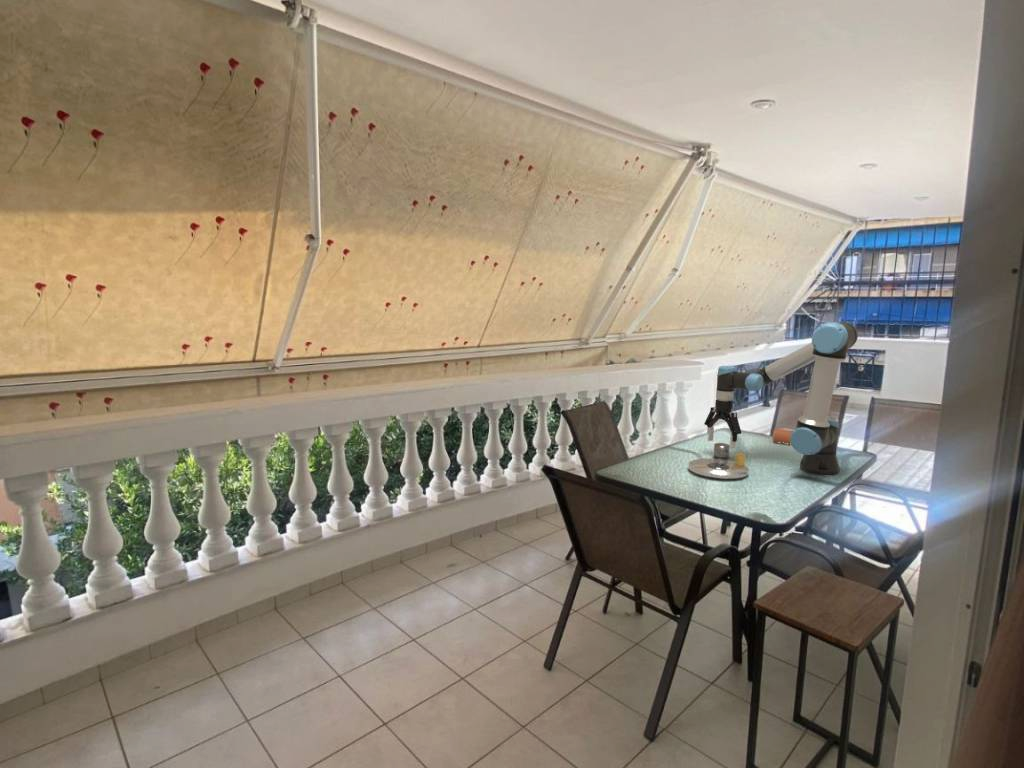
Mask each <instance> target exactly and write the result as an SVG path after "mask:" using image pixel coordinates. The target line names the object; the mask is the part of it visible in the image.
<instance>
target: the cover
mask: <svg viewBox="0 0 1024 768" xmlns="http://www.w3.org/2000/svg"><path fill="white" fill-rule="evenodd" d="M712 458H713V459H724V460H730V459H731V458H730V443H724V442H716V443H714V445H713V456H712ZM730 461H731V460H730Z"/></svg>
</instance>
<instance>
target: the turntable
mask: <svg viewBox="0 0 1024 768" xmlns="http://www.w3.org/2000/svg"><path fill="white" fill-rule="evenodd" d="M688 469H689V471H691V472H693V473H694V474H696V475H700V476H702V475H703V476H702V477H705V476H707V477H706V478H709V477H712V478H711V479H715V478H721V479H720V480H733V479H741V478H745V477H747V476H748V475H749V468H748V466H746V454H745V453H743V452H735V453H734V460H724V459H713V457H712V458H708V457H706V458H697V459H693V460H691V461H689V462H688Z"/></svg>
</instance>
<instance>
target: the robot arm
mask: <svg viewBox="0 0 1024 768" xmlns="http://www.w3.org/2000/svg"><path fill="white" fill-rule="evenodd" d="M858 335H859V333H858V331H857V328H856V327H855V326H854V325H853V324H851V323H850V322H847V321H837V322H835V321H834V322H832V321H830V322H825V323H823V324H821V325H819V326H818V327H816V329H814V331H813V334H812V336H811V342H809V343H808V344H805V345H804V346H802V347H800V348H798V349H796V350H794V351H792V352H791V353H789V354H786V355H785V356H783V357H781V358H779V359H777V360H775V361H774V362H771V363H769V364H768V365H766V366H764V367H762V368H760V369H758V370H755V371H750V372H742V371H740V372H739V371H737V370H736V368H737V367H735V366H732V365H720V366H719V367H718V369H717V375H716V377H717V378H716V379H717V380H716V390H715V391H716V392H715V402H714V404H715V405H714V406H711V407H710V410H709V412H708V414H707V417H706V419H705V421H704V425H705V426H706V428H707V430H706V431H707V442H712V441H714V431H715V424H716V423H717V422H718V420H723V421H724V422H726V424H727V426H728V428H729V430H730V432H731V433H730V434H729V435H730V437H729V438H730V439H729V445H730V447H729V450H730V449H731V450H732V449H735V448H736V443H737V441H738V435H741V434H742V430H741V426H740V422H739V419H738V412H737V411H736V412H735V411H734V412H732V409H733V407H734V401H733V400H734V393H735V389H739V390H745V391H749V392H759V391H761V389H763V387H767V386H769V385H771V384H772V383H773V382H775V381H777V380H780V379H781V378H783V377H785V376H787V375H789V374H791V373H793V372H795V371H798V370H799V369H801V368H804V367H805V366H807V365H809V364H811V363H813V362H814V364H813V365H814V366H813V369H812V375H811V378H810V382H809V387H808V392H807V396H806V402H805V403H804V404H805V405H804V410H803V414H802V415H801V416H800V417H798V418H797V422H796V427H795V429H793V430H792V431H793V432H792V433H791V436H790V443H791V445H790V446H791V447H792V448H793V449H794V450H795V451H796V452H797V453H799V454H801V455H803V456H802V458H801V460H800V462H799V469H800V470H801V471H802V472H804V473H808V474H812V475H817V476H825V475H832V476H836V475H835V474H837V475H839V474H840V473H839V472H841V468H840V465H839V461H838V457H837V453H838V452H837V451H838V441H839V439H838V438H839V430H840V425H839V424H840V423H839V421H838V420H835V419H830V418H828V414H829V411H830V408H831V404H832V399H833V394H834V390H835V386H836V382H837V378H838V373H839V368H840V365H841V362H843V361H845V360H846V359H847V353H848V350H849V349H851V348H852V347H853V346H855V344H856V343H857V341H858V338H859V337H858ZM838 473H839V474H838Z"/></svg>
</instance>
